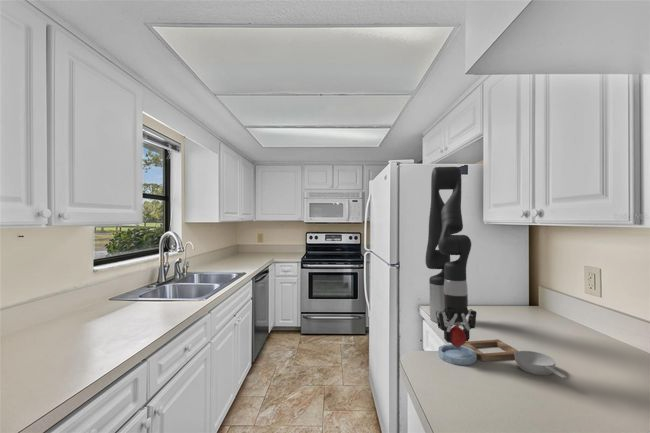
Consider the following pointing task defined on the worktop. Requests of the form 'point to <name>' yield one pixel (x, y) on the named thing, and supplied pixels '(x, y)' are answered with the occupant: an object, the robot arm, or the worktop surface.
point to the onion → (457, 336)
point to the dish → (457, 354)
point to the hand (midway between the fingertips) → (456, 341)
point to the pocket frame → (491, 356)
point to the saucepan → (536, 363)
